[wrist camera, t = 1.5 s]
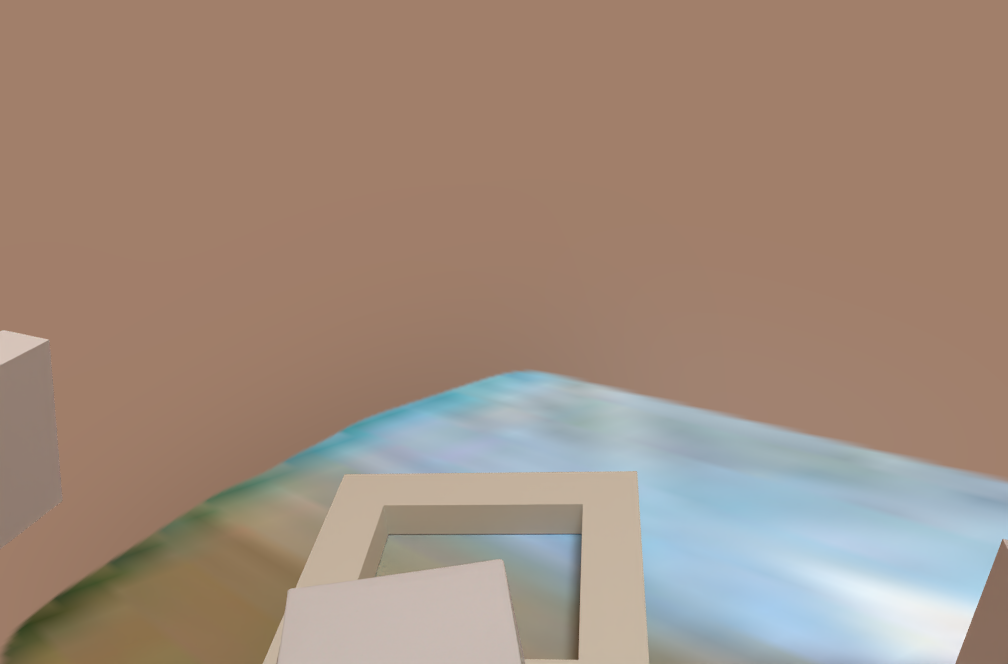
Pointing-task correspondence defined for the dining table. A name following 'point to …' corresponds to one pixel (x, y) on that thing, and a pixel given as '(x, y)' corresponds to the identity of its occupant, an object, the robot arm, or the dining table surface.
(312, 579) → the hole board
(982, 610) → the robot arm
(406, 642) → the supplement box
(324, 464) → the dining table surface
